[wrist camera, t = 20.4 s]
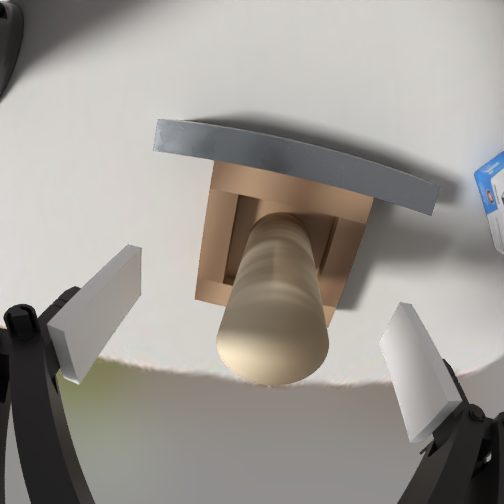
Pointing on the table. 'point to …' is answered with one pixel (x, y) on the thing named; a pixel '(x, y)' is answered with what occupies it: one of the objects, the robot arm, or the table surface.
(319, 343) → the dowel
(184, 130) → the backstop rail
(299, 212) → the wooden square tray
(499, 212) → the ink box
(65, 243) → the table surface
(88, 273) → the table surface
